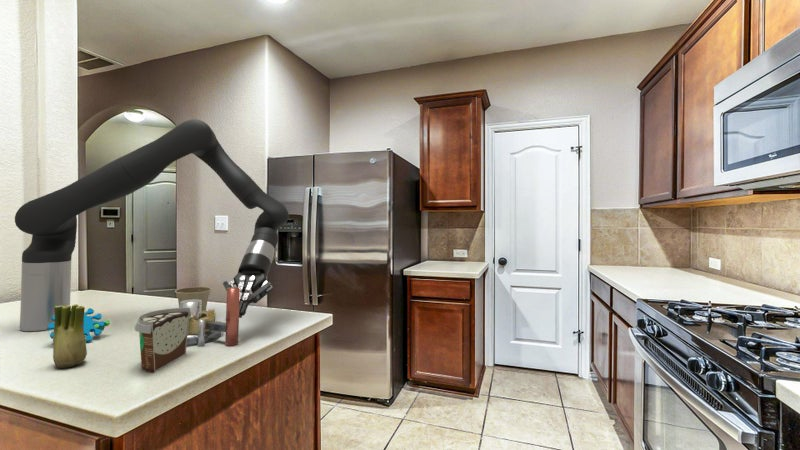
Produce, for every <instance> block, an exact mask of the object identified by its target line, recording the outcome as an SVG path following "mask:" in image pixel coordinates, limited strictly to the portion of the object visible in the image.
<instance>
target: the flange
mask: <svg viewBox="0 0 800 450" xmlns="http://www.w3.org/2000/svg"><path fill="white" fill-rule="evenodd" d="M180 308H190V311H191V315H194V320H197V319H200V318H201V309H202V300H198V299H191V300H184V301H181V302H180ZM221 336H222V332H220V331H214V330H210V331H207V332H205V319H200V320H198V334H194V335H187V346H186V347H192V346H193V347H194V346H197V347H198V348H199V347H204V346H205V344H207V343H210V342H213V341H216V340H217V339H219V338H220V337H221Z"/></svg>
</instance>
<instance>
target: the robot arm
mask: <svg viewBox="0 0 800 450" xmlns="http://www.w3.org/2000/svg"><path fill="white" fill-rule="evenodd" d="M191 154H192V155H194V156H195V157H197V158H198V159H199V160H201V161H202V162H204V163H205V164H206V165H207V166H208V167H209V168H211V170H212V171H213V172H214V173H216V174H217V176H218V177H219V178H220V179H221V181H222V182H223V183H224V185H225V186H226V187H227V188H228V189H229V190H230V192H231V193H232V194H233V195H234V196H235V197H236V199H238V201H240V203H242V204H243V205H244V207H245V208H247V209H249V210H253V209H256V208H258V209H260V210H262V212H261V213H260V214H259V216H258V217H257V219H256V220H255V224H254V228H253V229H254V230H253V231H254V232H253V235H252V237H251V240H250V243H249V245H248V247H247V248H246V250H245V252H244V254H243V257H242V260H241V263H240V264H239V267H238V269H237V274H236V275H234V277H233V279H232V280H230V281H227V280H225V281H223V282H222V285H223V288H224V289H225V291H226V292H227V288H231V287H239V288H240V301H239V319H242V318H243V316H245V315H246V312H247V309H248V308H249V305H250V304H252V303H253V304H257V303H258V302H259V301H261V300H262V299H264V297H266V296H267V295H268V294H270V292H272V291H273V289H274V287H273V285H272V283H271V282H270V281H268V274H269V272H270V269H271V266H272V263H273V260H274V256H275V250H276V248H277V245H278V241H279V234H278V231H279V229H280V228H281V227H282V226H284V225H285V224H286V223H287V222H288V221H289V217H290V215H289V211H288V209H287V207H285V204H283V203H281V202H280V201H278V200H277V199H275V197H272V196H271V195H270V194H268V193H266V192H265V191H263V189H262V188H261V187H260V186H259V185H258V184H257V183H256V182H255V181H254V179H253V178H252V177H251V176H250V175H248V173H246V171H244V170H243V168H241V167H240V166H239V165H238V164H237V163H236V162H234V161H233V160H232V158H230V155H229V154H227V152H226V151H225V149H224V148H223V146H222V144H220V141H218V139H217V136H216V134H215V132H214V131H213V129H212V128H211V126H210V125H208V123H206V122H205V121H203V120H200V119H188V120H185V121H183V122H181V123H180V124H178V125H177V126H175V127H173V128H172V129H170V130H169V131H168V132H166V133H165V134H163V135H162V136H160V137H158V138H156V139H154V140H153V141H151V142H149V143H147V144H145V145H143V146H140V147H139V148H137V149H134V150H133V151H130V152H128V153H127V154H124V155H122V156H120V157H118V158H116V159H114V160H112V161H110V162H108V163H107V164H105V165H102V166H101V167H100V168H97V169H95V170H94V171H91V172H90V173H88V174H86V175H85V176H83V177H81V178H78V179H77V180H75V181H74V182H72V183H71V184H69V185H66V186H64V187H62V188H59V189H57V190H54V191H53V192H52V191H51V192H50V193H47V194H44V195H42V196H40V197H37V198H34V199H33V200H32V199H31V200H29V201H28V202H25V203H23V204H22V205H21V206H20V207H19V208H18V210H17V211H16V213H15V215H14V224H15V227H17V229H19V230H20V231H21V232H23V233H25V234H28V235H32V236H31V241H30V244H29V245H28V247H27V248H25V250H23V251H22V253H21V278H20V279H21V281H20V282H21V283H20V284H21V285H20V315H19V330H20V331H23V332H38V331H40V332H41V331H48V330H47V328H48V325H49V324H50V323H54V324H55V321H52V320H51V318H52V317H53V316H54V315H55V311H54V310H55V306H61V305H63V306H68V305H70V306H71V288H72V287H71V285H72V281H71V280H72V255H73V252H74V250H75V248H76V243H77V241H76V240H77V232H78V231H77V230H78V217H77V216H79V215H81V214H82V213H84V212H86V211H87V210H90V209H92V208H95V207H97V206H101V205H103V204H107V203H110V202H113V201H116V200H119V199H121V198H123V197H127V196H128V195H130V194H133V193H135V192H137V191H138V190H140V189H142V188H144V187H146V186H147V185H148V184H150V183H152V182H153V181H154V180H155V179H156V178H158V177H159V176H160V175H161V173H162V172H163V171H164V170H165V169H166V168H167V167H169V166H170V165H171V164H173V163H175V162H176V161H178V160H180V159H182V158H184V157H186V156H189V155H191Z"/></svg>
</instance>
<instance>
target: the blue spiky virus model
mask: <svg viewBox="0 0 800 450" xmlns="http://www.w3.org/2000/svg"><path fill="white" fill-rule="evenodd" d="M94 313H95V310H94V309H93V308H91V307H90V308H88V309H87V310H86V311H84V335H85V340H86V343H90V342H92V341H93V340H94V336H95V337H98V336H100V335H101V334H102V333H103V331H104V330H105V327H108V326H109V325H110V324H111V320H110V319H106V320H105V321H103V320H102V317H103V315H102V314H101V313H96V314H95V315H93V314H94ZM51 320H52V321H55V315H54V316H53V317H52V318H51ZM96 320H97V321H96ZM100 320H102V321H100ZM52 330H53V331H52ZM46 331H51V332H50V333H49V337H50V339H52V340H53V335H54V323H50V324H49V325H48V328H47V330H46ZM91 333H93V335H94V336H92V335H91Z"/></svg>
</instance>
